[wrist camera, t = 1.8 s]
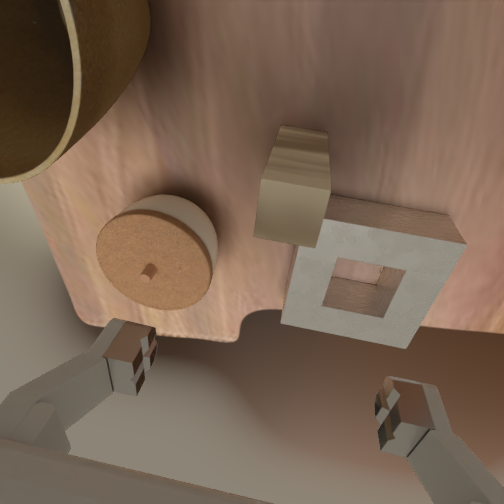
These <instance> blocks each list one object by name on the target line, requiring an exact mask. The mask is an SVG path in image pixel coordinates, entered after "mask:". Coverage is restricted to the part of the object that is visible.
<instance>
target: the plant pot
mask: <svg viewBox="0 0 504 504" xmlns="http://www.w3.org/2000/svg"><path fill="white" fill-rule="evenodd" d="M150 29H151V15H150V8H149V4H148V0H0V184H7V183H15V182H19V181H23V180H26V179H29V178H32V177H34V176H36V175H38V174H40V173H41V172H43V171H44V170H46V169H47V168H48V167H49V166H51V165H52V164H53V163H54V162H55V161H56V160H58V159H59V158H60V157H61V156H62V155H63V154H64V153H66V152H67V151H68V150H69V149H70V148H71V147H72V146H73V145H74V144H75V143H76V142H78V141H79V140H80V139H81V138H82V137H83V136H84V135H85V134H86V133H87V132H88V131H89V130H90V129H91V128H92V127H93V126H94V125H95V124H96V123H97V122H98V121H99V120H100V119H101V118H102V117H103V116H104V115H105V114H106V112H107V111H108V110H109V109H110V108H111V106H112V105H113V104H114V103H115V102H116V100H117V99H118V98H119V96H120V95H121V94H122V92H123V91H124V89H125V88H126V87H127V85H128V84H129V82H130V80H131V79H132V77H133V76H134V74H135V72H136V70H137V68H138V66H139V64H140V62H141V60H142V57H143V55H144V53H145V50H146V47H147V43H148V40H149V36H150Z"/></svg>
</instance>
